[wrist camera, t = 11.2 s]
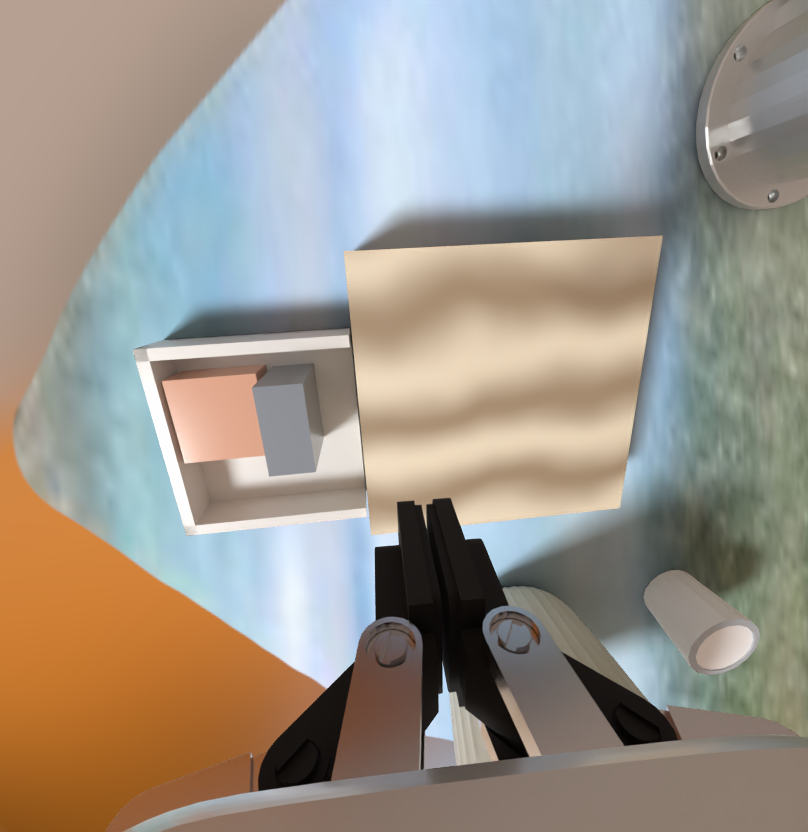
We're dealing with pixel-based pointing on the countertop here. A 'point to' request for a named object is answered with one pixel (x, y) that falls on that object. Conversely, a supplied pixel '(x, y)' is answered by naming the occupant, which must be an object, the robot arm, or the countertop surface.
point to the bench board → (499, 373)
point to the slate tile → (289, 419)
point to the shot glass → (700, 623)
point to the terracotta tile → (215, 412)
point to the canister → (569, 640)
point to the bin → (248, 477)
